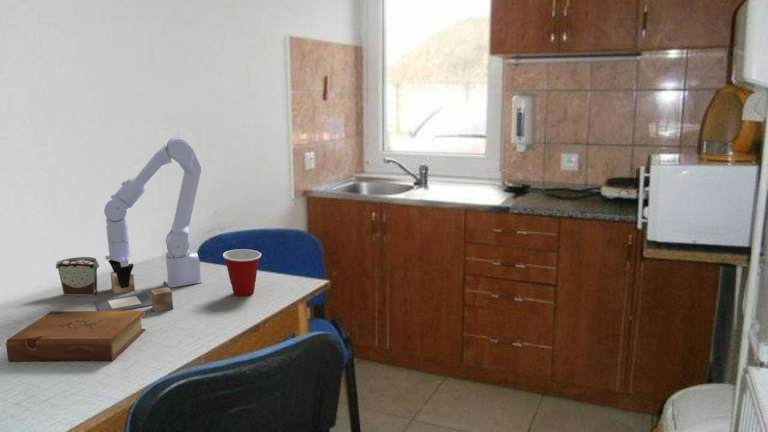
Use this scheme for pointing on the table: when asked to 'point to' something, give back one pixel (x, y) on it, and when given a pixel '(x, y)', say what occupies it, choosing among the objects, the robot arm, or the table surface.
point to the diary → (76, 336)
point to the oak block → (116, 285)
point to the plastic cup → (242, 270)
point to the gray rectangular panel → (124, 302)
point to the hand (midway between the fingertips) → (122, 284)
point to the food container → (78, 275)
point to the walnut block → (162, 299)
